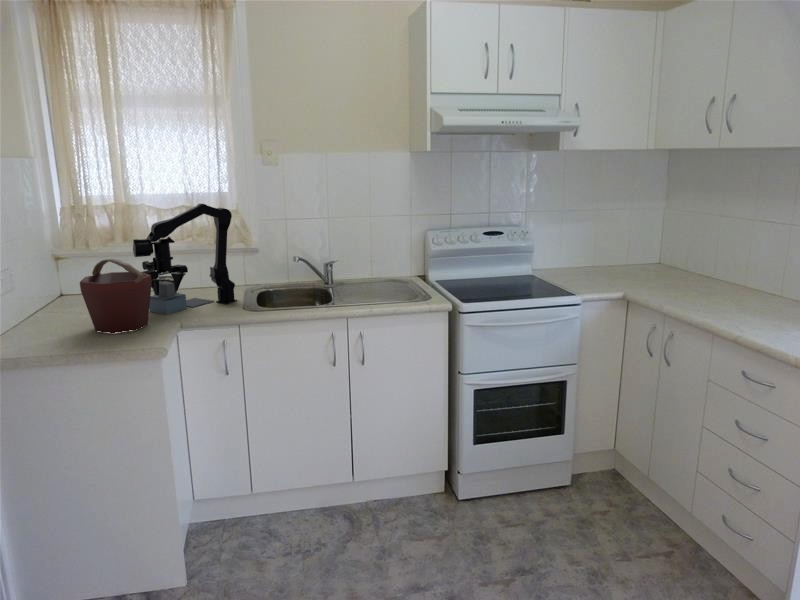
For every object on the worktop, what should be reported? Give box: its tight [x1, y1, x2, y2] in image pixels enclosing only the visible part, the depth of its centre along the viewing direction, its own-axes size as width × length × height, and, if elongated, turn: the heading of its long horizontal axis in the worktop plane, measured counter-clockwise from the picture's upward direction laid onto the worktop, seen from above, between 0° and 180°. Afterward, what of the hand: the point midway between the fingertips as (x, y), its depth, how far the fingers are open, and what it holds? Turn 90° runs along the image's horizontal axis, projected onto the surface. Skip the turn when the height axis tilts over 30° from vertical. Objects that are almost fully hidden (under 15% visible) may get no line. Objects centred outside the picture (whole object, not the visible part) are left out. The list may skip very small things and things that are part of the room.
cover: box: [149, 282, 188, 315], centre depth 231 cm, size 10×10×11 cm
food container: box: [153, 275, 178, 295], centre depth 250 cm, size 12×6×10 cm, turn 74°
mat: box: [186, 297, 215, 309], centre depth 244 cm, size 12×12×1 cm
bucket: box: [79, 258, 152, 333], centre depth 205 cm, size 24×22×25 cm
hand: (166, 293), depth 231 cm, fingers open, 9 cm apart
